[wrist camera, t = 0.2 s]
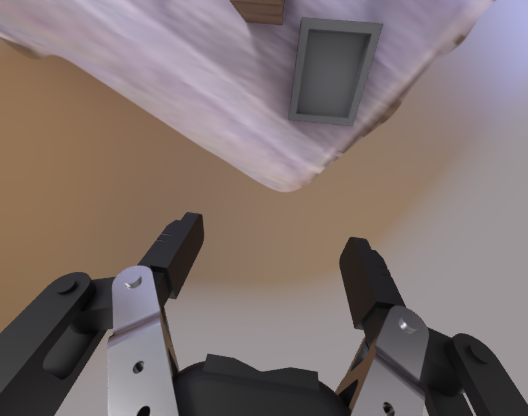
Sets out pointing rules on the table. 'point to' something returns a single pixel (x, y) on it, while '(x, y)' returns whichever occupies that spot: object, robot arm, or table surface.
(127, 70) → the table surface
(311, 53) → the tray
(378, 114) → the table surface
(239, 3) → the walnut block
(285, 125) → the table surface
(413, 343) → the robot arm
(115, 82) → the table surface
